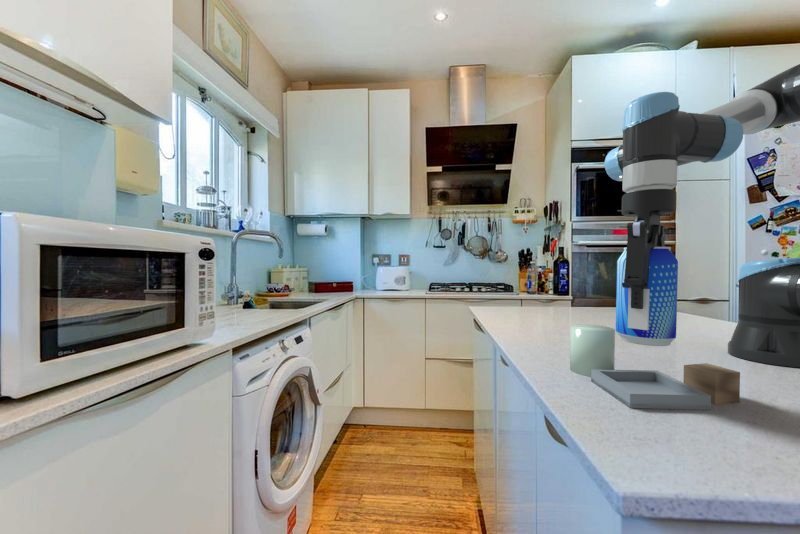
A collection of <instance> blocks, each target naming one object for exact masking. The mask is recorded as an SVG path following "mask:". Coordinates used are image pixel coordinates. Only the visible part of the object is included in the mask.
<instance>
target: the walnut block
mask: <svg viewBox="0 0 800 534" xmlns="http://www.w3.org/2000/svg"><path fill="white" fill-rule="evenodd" d="M683 383H685V384H687V385H689V386H691V387H694V388H696V389H698V390H700V391H702V392H705V393H707V394H709V395H711V405H714V406H720V405H729V404H730V405H731V404H739V403H740V399H741V398H740V396H741V395H740V393H741V392H740V389H741V372H740V371H737V370H733V369H730V368H727V367H722V366H718V365H715V364H712V363H708V362H705V363H692V364H683Z"/></svg>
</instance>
